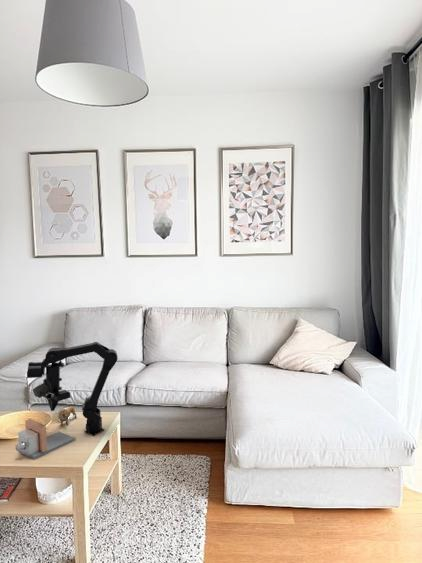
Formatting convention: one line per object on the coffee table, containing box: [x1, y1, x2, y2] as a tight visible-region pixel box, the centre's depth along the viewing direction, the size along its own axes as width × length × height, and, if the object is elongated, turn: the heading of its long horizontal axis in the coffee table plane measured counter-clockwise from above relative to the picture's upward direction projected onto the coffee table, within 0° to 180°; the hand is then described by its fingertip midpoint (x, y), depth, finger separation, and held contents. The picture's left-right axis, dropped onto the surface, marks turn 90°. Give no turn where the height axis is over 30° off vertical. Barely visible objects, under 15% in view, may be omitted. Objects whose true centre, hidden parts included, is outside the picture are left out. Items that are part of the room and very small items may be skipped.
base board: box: [18, 431, 76, 461], centre depth 161 cm, size 19×12×1 cm, turn 146°
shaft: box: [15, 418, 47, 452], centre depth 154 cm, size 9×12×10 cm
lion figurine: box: [58, 406, 77, 427], centre depth 184 cm, size 15×5×9 cm, turn 0°
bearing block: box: [17, 428, 39, 457], centre depth 154 cm, size 4×8×8 cm, turn 56°
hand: (52, 410), depth 168 cm, fingers closed
